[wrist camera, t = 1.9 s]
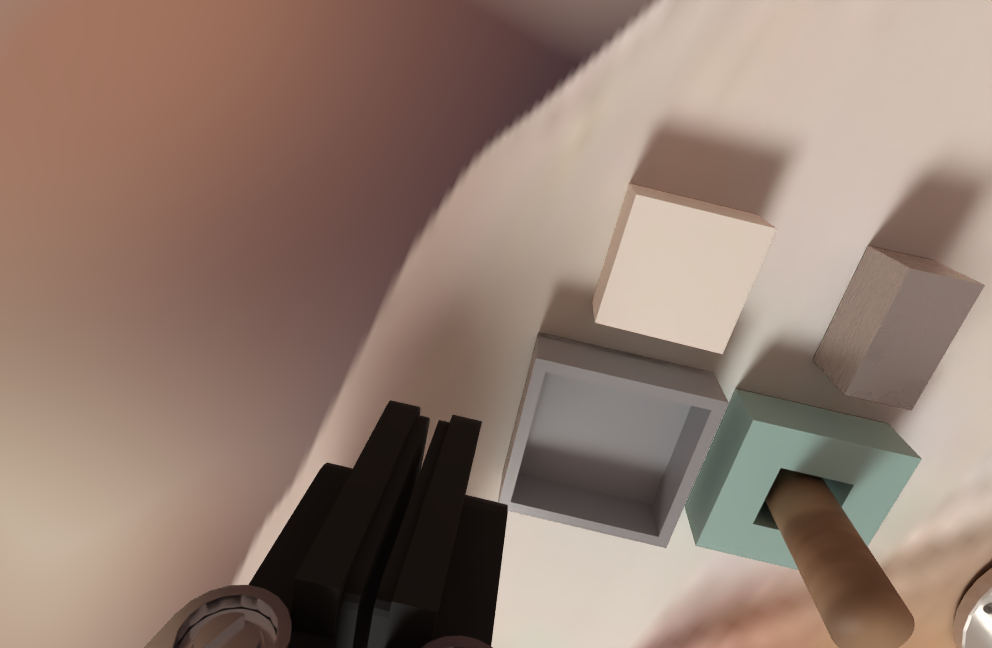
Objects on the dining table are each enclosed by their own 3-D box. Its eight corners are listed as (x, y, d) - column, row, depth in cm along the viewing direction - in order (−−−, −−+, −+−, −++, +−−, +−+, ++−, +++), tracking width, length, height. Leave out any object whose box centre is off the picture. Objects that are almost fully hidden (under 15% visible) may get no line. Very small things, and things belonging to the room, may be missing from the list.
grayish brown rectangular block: (932, 260, 26) (984, 285, 23) (872, 373, 29) (911, 410, 25) (868, 245, 26) (910, 268, 23) (813, 359, 29) (844, 394, 25)
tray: (713, 372, 29) (728, 402, 27) (657, 509, 33) (666, 548, 30) (538, 332, 30) (536, 358, 27) (502, 473, 33) (497, 508, 31)
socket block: (888, 423, 29) (921, 458, 27) (822, 539, 33) (846, 581, 30) (735, 388, 30) (753, 420, 27) (684, 506, 33) (695, 545, 30)
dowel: (819, 451, 31) (929, 610, 21) (796, 495, 32) (891, 662, 23) (764, 438, 31) (850, 591, 21) (743, 482, 32) (816, 644, 23)
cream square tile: (754, 213, 26) (777, 228, 24) (707, 328, 29) (722, 354, 26) (628, 182, 27) (636, 194, 24) (591, 299, 29) (594, 322, 26)
